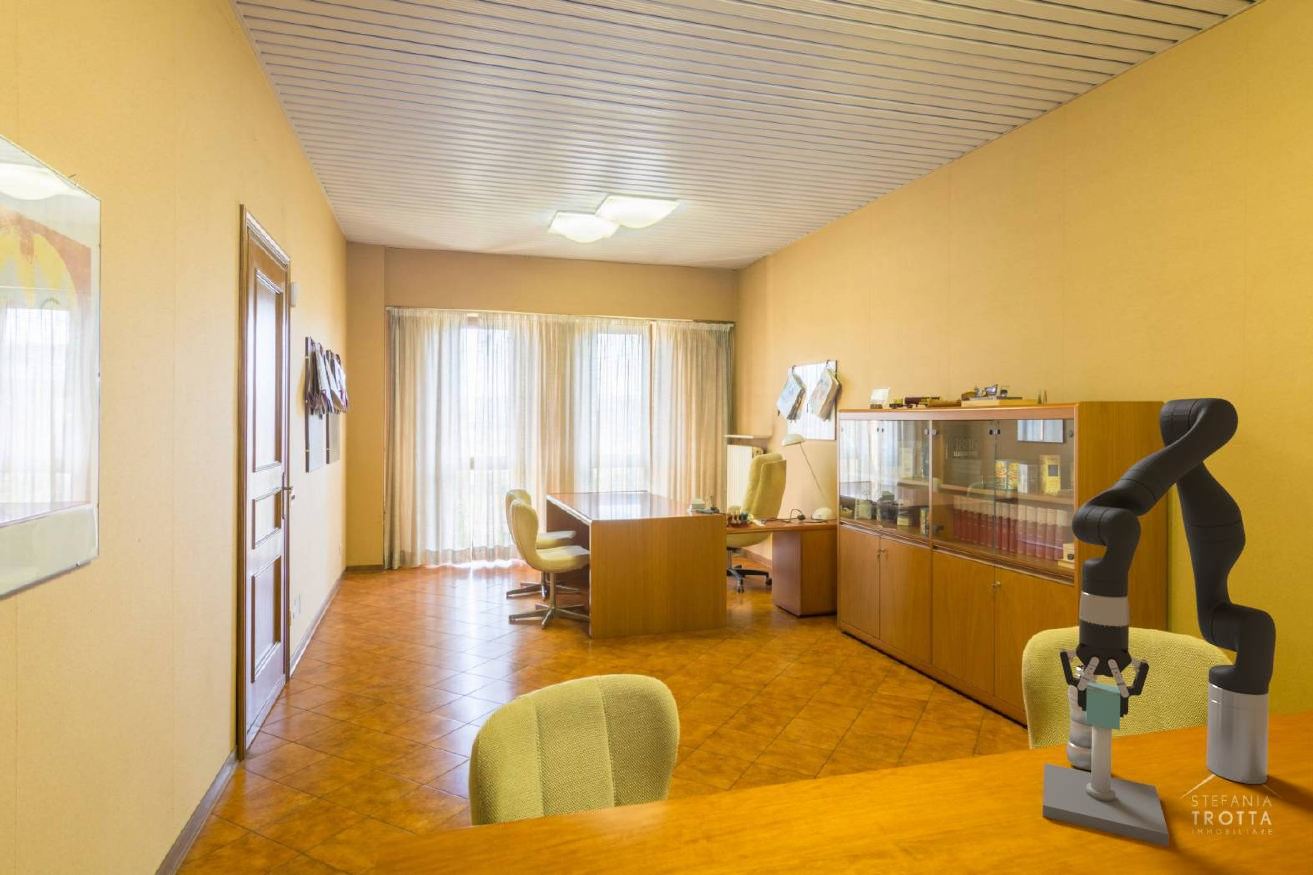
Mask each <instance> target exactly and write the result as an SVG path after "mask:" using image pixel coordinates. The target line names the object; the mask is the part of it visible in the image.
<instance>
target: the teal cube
mask: <svg viewBox="0 0 1313 875" xmlns="http://www.w3.org/2000/svg"><path fill="white" fill-rule="evenodd" d="M1086 691H1087V694H1086V711H1085V716H1086V724H1089V725H1094V726H1100V727H1105V728H1111V729H1112V730H1117V731H1119V730H1120V729H1121V717H1120V691H1119V688H1118V686H1116V685H1108V684H1103V683H1102V684H1101V683H1098V684H1096V683H1090V682H1088V684H1087V686H1086Z"/></svg>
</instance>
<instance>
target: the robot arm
mask: <svg viewBox="0 0 1313 875" xmlns="http://www.w3.org/2000/svg"><path fill="white" fill-rule="evenodd" d="M1158 420H1159V421H1158V423H1159V424H1158V425H1159V432H1160V437H1161V440H1162V443H1163V446H1164V447H1163V448H1162V449H1159V450H1158V451H1156V452H1153V453H1151V454H1149V455H1148V456H1146V457H1144V458H1141V459H1140V460H1138V461H1137V462H1135V463H1134V464H1133V465H1132V466H1130V468H1128V469H1127V470H1126V471H1125V473H1123V475H1122V476H1121V477H1120V478H1119V479H1118V480H1117V481H1116V482H1115V483H1114V484H1113V486H1112V487H1110V488H1108V489H1106V490H1104V491H1101V492H1100V493H1099V494H1097V495H1095V496H1093V497H1092V498H1090V499H1088V500H1087V501H1086V502H1084V503H1083V504H1082V505H1081V506H1079V508H1078V509H1077V510H1076V511H1075V513H1074V514H1073V518H1072V520H1071V529H1072V530H1071V531H1072V533H1073V535H1074V537H1075V538H1076V539H1078V540H1079V541H1080V542H1083V543H1086V544H1089V545H1095V546H1102V547H1106V549H1105V552H1104V554H1103V556H1102V557H1094V558H1093V557H1092V558H1088V559H1086V560H1084V562H1082V567H1081V593H1080V598H1079V611H1078V614H1079V619H1078V620H1079V623H1078V624H1079V625H1078V626H1079V628H1078V645H1077V646H1076V647H1075V649H1065V648H1061V649H1059V658H1060V662H1061V666H1062V670H1063V674H1064V679H1065V682H1066V684H1067V685H1068V686H1070V685H1072V686H1074V687H1076V688H1077V690H1078V691H1077V704H1078V706H1079V707H1082V711H1086V694H1087V691H1086V686H1087V684H1088V682H1089V680H1090V679H1091V677H1092V675H1097V676H1104V677H1107V678H1112V679H1113V678H1114V681H1115V684H1116V685H1117V686H1116V687H1118V688H1119V692H1120V718H1123V719H1124V716H1127V715H1128V714H1129V699H1130V697H1132V696H1138V697H1139V696H1141V695H1142V693H1143V689H1144V685H1145V683H1146V680H1147V676H1148V674H1149V670H1150V664H1149V663H1148V662H1149V661H1147V660H1146V659H1137V658H1134V657H1132V655H1131V654H1130V651H1129V641H1130V640H1129V638H1130V637H1129V634H1130V633H1129V632H1130V631H1129V630H1130V629H1129V628H1130V619H1131V617H1130V604H1129V597H1128V596H1129V594H1128V593H1129V592H1128V591H1129V572H1130V569H1131V565H1132V562H1133V559H1134V556H1135V553H1136V550H1137V548H1138V545H1139V542H1140V540H1141V539H1140V538H1141V534H1142V527H1141V526H1142V525H1141V523H1140V521H1139V518H1138V517H1142V516H1144V515H1147V514H1148V513H1149V512H1150V511H1152V509H1154V506H1156V504H1157V503H1159V501H1160V500H1161V499H1162V498H1163V497H1164V495H1166V493H1167V492H1168V491H1169V490H1170V489H1171V488H1172V487H1173V486H1174V485H1175V486H1176V491H1177V495H1178V499H1179V505H1180V510H1181V516H1182V523H1183V528H1184V533H1185V538H1186V542H1187V545H1188V548H1189V555H1190V561H1191V568H1192V572H1193V579H1194V587H1195V602H1196V614H1197V615H1196V616H1197V623H1198V628H1199V631H1200V633H1201V636H1202V638H1203V639H1204V640H1205V642H1207V643H1208V644H1210V645H1211V646H1215V647H1217V648H1220V649H1223V650H1227V651H1231V652H1234V653H1235V654H1236V655H1235V659H1234V660H1235V661H1234V663H1233V664H1218V665H1212V667H1210V668H1209V669H1208V679H1207V680H1208V687H1207V688H1208V689H1207V692H1208V693H1207V697H1208V698H1207V741H1206V767H1207V768H1206V769H1208V770H1209V771H1210V772H1211V773H1212V774H1213V773H1214V774H1215V775H1217V776H1219V777H1221V778H1224V779H1227V780H1229V781H1230V780H1231V781H1233V782H1238V783H1240V784H1241V783H1243V784H1247V785H1261V784H1266V782H1267V781H1268V780H1267V775H1268V772H1267V770H1268V745H1269V744H1268V741H1269V740H1268V738H1269V690H1270V683H1271V680H1272V677H1273V673H1274V663H1275V662H1274V661H1275V660H1274V659H1275V652H1276V643H1277V641H1276V640H1277V639H1276V638H1277V630H1276V624H1275V621H1274V619H1273V617H1272V616H1271V614H1270V613H1268V612H1266V611H1265V610H1263V609H1259V608H1256V607H1252V606H1246V605H1242V604H1238V603H1233V602H1232V601H1231V598H1230V594H1229V589H1228V588H1229V587H1228V580H1229V575H1230V572H1231V570H1232V569H1233V568H1234V566H1235V564H1236V563H1237V561H1238V560H1239V558H1240V556H1241V554H1242V553H1243V551H1244V549H1245V546H1246V543H1247V540H1246V539H1247V538H1246V532H1245V526H1244V522H1243V521H1244V520H1243V516H1242V512H1241V508H1240V507H1239V505H1238V503H1237V502H1236V500H1235V499H1234V498H1233V496H1232V495H1231V494H1230V493H1229V492H1228V491H1227V490H1226V488H1224V487H1223V485H1222V484H1221V483H1220V482H1219V481H1218V480H1217V479H1216V478H1215V477H1214V476H1213V474H1211V472H1210V471H1209V469H1208V468H1207V466H1206V464H1205V463H1204V461H1206V460H1207V459H1208V458H1209V457H1210V456H1211V455H1213V454H1215V453H1216V452H1217V451H1218V450H1220V449H1221V448H1223V447H1224V446H1225V445H1226V444H1228V443H1229V442H1230V441H1231V440H1232V438H1233V437H1234V436H1235V435H1236V432H1237V429H1238V426H1239V415H1238V411H1237V409H1236V408H1235V406H1234V404H1233V403H1231V401H1229V400H1227V399H1223V398H1219V397H1206V398H1204V397H1199V398H1179V399H1172V400H1168V401H1167V402H1165V403H1164V404H1163V406H1162V407H1161V408H1160V412H1159V419H1158ZM1075 657H1077V658H1078V660H1079V661H1080V662H1081V663H1082V665H1084V668H1083V670H1082V673H1081V675H1080V677H1079V679H1077V677H1076V676H1074V673H1073V669H1072V667H1071V666H1072V665H1071V663H1073V662H1074V661H1075V660H1074V659H1075ZM1129 665H1132V668H1133V671H1134V672H1135V675H1134V679H1133V682H1132V685H1130V686H1128V685H1126V682H1125V679H1124V677H1123V674H1122V673H1123V671H1124V670H1125V669H1126V668H1127V667H1129Z"/></svg>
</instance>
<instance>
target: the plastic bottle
mask: <svg viewBox="0 0 1313 875" xmlns="http://www.w3.org/2000/svg"><path fill="white" fill-rule="evenodd" d="M1083 668H1084V665H1083V664H1076V667H1075V677H1076V678H1077V679H1079V677H1080V675H1081V673H1082V670H1083ZM1098 676H1099V675H1092V677H1091V679H1090V680H1089V682H1090V683H1096V684H1099V683H1098V682H1097V680H1098ZM1068 686H1069V687H1068V690H1067V697H1068V705H1069V716H1070V719H1069V721H1070V726H1069V733H1068V739H1067V742H1066V748H1065V752H1066V758H1067V760H1068V762H1069V764H1071V765H1073V766H1074V767H1076V768H1078V769H1081V770H1083V771H1084V770H1085V771H1091V761H1092V725H1089V724H1086V716H1085V711H1082V707H1079V706H1078V704H1077V691H1078V690H1077V688H1076V687H1074V686H1072V685H1068Z"/></svg>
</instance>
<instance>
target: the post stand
mask: <svg viewBox="0 0 1313 875" xmlns="http://www.w3.org/2000/svg"><path fill="white" fill-rule="evenodd" d="M1112 732H1113V729H1111V728H1105V727H1100V726H1094V725H1092V761H1091V772H1089V771H1086V770H1085V771H1084V770H1079V769H1075V768H1071V767H1070V768H1069V767H1065V766H1060V765H1056V764H1055V765H1054V764H1052V763H1051V764H1050V763H1045V762H1044V769H1043V770H1044V771H1043V789H1042V790H1043V792H1042V795H1043V796H1042V817H1043V818H1047V817H1048V818H1049V819H1052V820H1057V821H1060V822H1064V823H1068V824H1069V823H1070V824H1072V825H1076V826H1077V825H1078V826H1082V827H1086V828H1090V829H1094V830H1097V831H1103V832H1106V833H1110V834H1115V835H1119V836H1123V837H1127V838H1132V839H1136V840H1141V841H1143V842H1144V841H1145V842H1148V843H1152V844H1156V845H1160V846H1161V845H1162V846H1163V847H1169V835H1170V834H1169V831H1168V827H1167V823H1166V820H1165V815H1164V812H1163V809H1162V805H1161V801H1160V798H1159V794H1158V791H1157V786H1156V785H1152V784H1147V783H1143V782H1136V781H1133V780H1132V781H1131V780H1128V779H1123V778H1118V777H1114V776H1113V777H1112V744H1113V743H1112V742H1113V741H1112V739H1113V738H1112V737H1113V733H1112Z"/></svg>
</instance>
